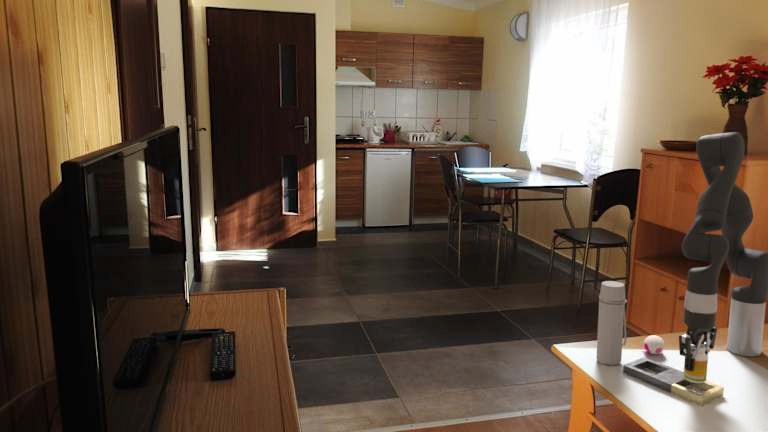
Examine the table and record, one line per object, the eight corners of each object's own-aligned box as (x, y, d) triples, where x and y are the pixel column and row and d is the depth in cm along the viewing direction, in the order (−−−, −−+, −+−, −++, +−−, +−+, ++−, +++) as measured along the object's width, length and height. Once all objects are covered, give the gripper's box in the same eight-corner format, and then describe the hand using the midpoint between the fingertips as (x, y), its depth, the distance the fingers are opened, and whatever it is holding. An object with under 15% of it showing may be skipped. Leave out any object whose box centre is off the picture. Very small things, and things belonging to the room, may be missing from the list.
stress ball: (644, 357, 184) (633, 340, 184) (667, 346, 181) (656, 328, 181) (648, 366, 176) (636, 348, 177) (672, 354, 174) (659, 336, 174)
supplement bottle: (709, 384, 149) (712, 350, 147) (686, 383, 150) (689, 348, 148) (702, 375, 154) (704, 342, 152) (680, 374, 155) (683, 340, 153)
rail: (643, 364, 171) (644, 357, 170) (723, 396, 151) (723, 387, 150) (622, 372, 166) (623, 365, 165) (701, 406, 146) (702, 397, 145)
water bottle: (605, 368, 169) (609, 288, 165) (590, 357, 177) (594, 281, 172) (632, 365, 171) (637, 286, 167) (617, 354, 178) (621, 278, 174)
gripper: (701, 299, 155) (697, 356, 158) (670, 308, 148) (666, 368, 151) (729, 306, 149) (724, 366, 152) (698, 316, 142) (693, 379, 145)
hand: (695, 367), depth 151 cm, fingers closed on supplement bottle, 5 cm apart
